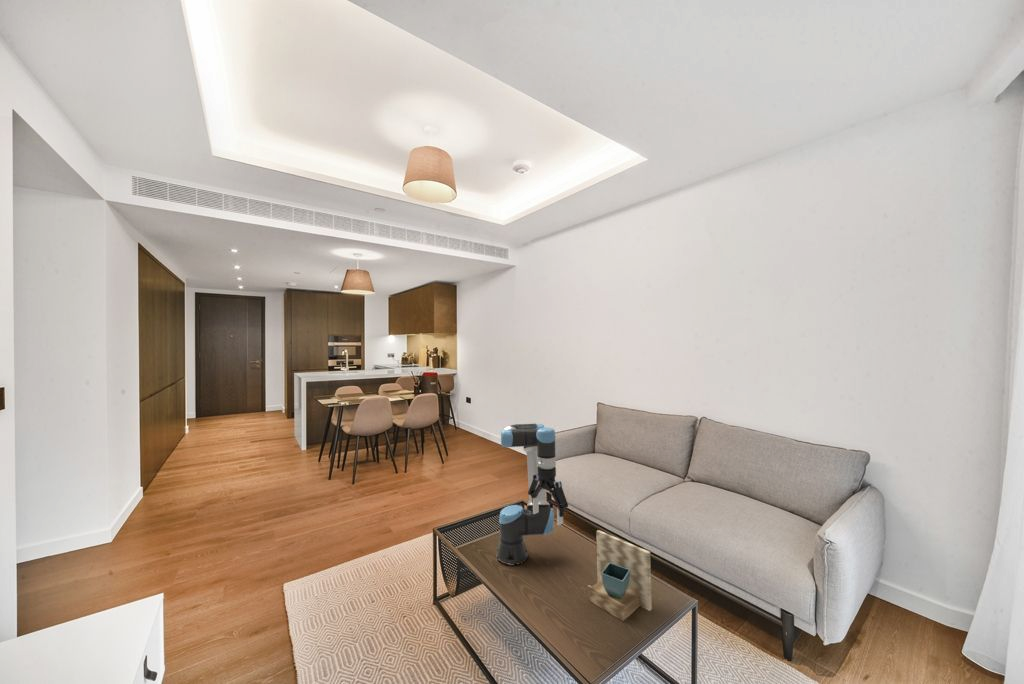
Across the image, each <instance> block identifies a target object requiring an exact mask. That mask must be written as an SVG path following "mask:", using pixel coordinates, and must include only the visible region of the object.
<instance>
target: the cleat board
mask: <svg viewBox="0 0 1024 684" xmlns="http://www.w3.org/2000/svg"><path fill="white" fill-rule="evenodd" d="M595 539H596V576H597V577H596V580H597V583H595V584H593V585H590V584H588V585H587V601H589V602H591V603H592V604H594V605H596V606H598V607H599V608H600V609H602V610H604V611H606V612H607V613H609V614H611V615H612V616H614V617H615V618H617V619H619V620H620V621H622V622H625V620H627V619H628V618H629V617H630V616H631V615H632V614H633V613H634V612H635V611H636V610H638V609H639V607H641V608H643V609H645V610H647V611H649V612H651V611H652V608H653V607H652V575H651V574H652V573H651V571H652V570H651V569H652V568H651V567H652V566H651V564H652V563H651V551H649V550H647V549H644V548H642V547H639V546H637V545H635V544H632V543H630V542H628V541H625V540H623V539H621V538H618V537H616V536H614V535H612V534H609V533H607V532H606V531H605V532H604V531H602V530H599V529H597V530H596V538H595ZM609 563H612V564H615V565H618V566H621V567H624V568H627V569H629V570H630V577H629V584H628V587H627V589H626V591H625V593H624V595H623V596H622V598H621V599H618V598H615V597H613V596H610V595H608V594H607V592H606V591H605V589H604V586H603V580H602V574H601V573H602V571H603V570H604V569H605V568H606V566H607V565H608V564H609Z"/></svg>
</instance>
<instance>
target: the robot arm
mask: <svg viewBox="0 0 1024 684" xmlns="http://www.w3.org/2000/svg"><path fill="white" fill-rule="evenodd" d="M500 445H501V447H502V448H521V447H523V451H524V452H525V453H526V464H527V479H528V480H527V481H528V493H527V495H528V497H529V500H528V503H527V505H526V509H525V508H523V506H522V505H520V504H519V505H518V504H512V505H508V506H506V507H504V508H502V509H501V510H500V512H499V520H498V522H499V542H498V545H497V546H498V548H497V550H496V558H497V557H498V559H500V560H501V561H503V562H505V563H510V564H517V563H521V562H523V561H524V560H525V559H526V558H527V559H528V549H527V547H526V543H525V539H524V537H525V536H544V535H550V534H552V533H553V530H554V525H555V524H554V523H555V512H554V508H552V507H551V506H550V503H549V502H548V501H547V492H548V493H550V494H551V496H552V498H553V500H554V502H555V503H556V505H557V508H556V525H557V526H560V525H563V524H564V516H565V509H566V508H569V503H568V500H567V499H566V498H567V497H566V494H565V492H564V488H563V486H562V485H563V483H562V481H556V476H557V467H556V466H557V461H556V431H555V429H554V428H552V427H545V426H544V424H542V423H520V424H519V423H518V424H517V423H516V424H511V425H508V426H506V427H504V428H503V429H502V430H501V431H500ZM523 563H524V562H523ZM521 564H522V563H521Z"/></svg>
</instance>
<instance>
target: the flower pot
mask: <svg viewBox="0 0 1024 684" xmlns="http://www.w3.org/2000/svg"><path fill="white" fill-rule="evenodd" d="M601 574H602V580H603V586H604V589H605V591H606V592H607V594H608V595H610V596H613V597H615V598H618V599H621V598H622V596H623V595H624V593H625V591H626V589H627V587H628V584H629V577H630V570H629V569H627V568H624V567H621V566H618V565H615V564H612V563H609V564H608V565H607V566H606V568H605V569H604V570H603V571H602V573H601Z"/></svg>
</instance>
